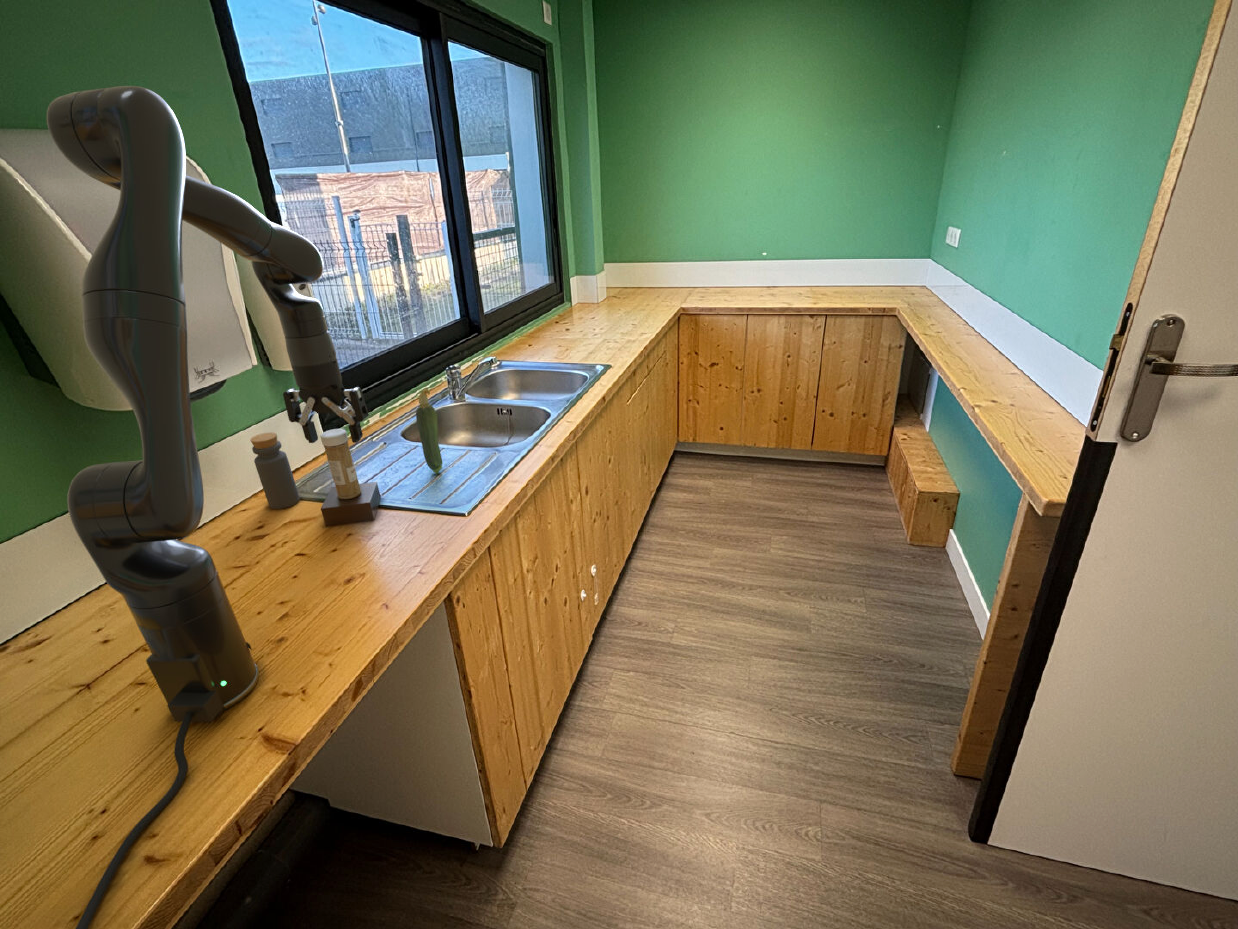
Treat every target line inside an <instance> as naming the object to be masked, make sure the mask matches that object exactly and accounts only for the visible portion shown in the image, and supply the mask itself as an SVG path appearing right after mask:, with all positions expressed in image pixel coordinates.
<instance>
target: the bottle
mask: <svg viewBox="0 0 1238 929" xmlns="http://www.w3.org/2000/svg"><path fill="white" fill-rule="evenodd" d="M250 442H251V444H252V445H253V446H252V448H251V450H252V452H253V454H255V455H257V456H256V457H255V458H254V460H253V462H254V466H255V470H256V471H257V474H258V478H259V480H260V483H261V487H262V489H263V492H264V496H265V498H266V501H267V504H268V506H269V508H270V509H274V510H279V509H280V510H281V509H286V508H290V507H293V506H294V505H296V504H298V503H299V501H300V499H301V498H300V494H299V491H298V486H297V484H296V481H295V477H294V474H293V471H292V467H291V465H290V462H289V458H288V455H287V453H286V452H285V451H283V450H280V449H281V448H282V442H281V441H280V440H278V434H277V433H276V432H262V433H259V434H256V435H254V436H252V437H251V438H250Z"/></svg>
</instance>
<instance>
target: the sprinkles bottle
mask: <svg viewBox="0 0 1238 929" xmlns="http://www.w3.org/2000/svg"><path fill="white" fill-rule="evenodd" d="M348 436H349V435H348V433H347V430H346V429H345V428H333V429H329V430H328V429H327V430H326V431H324V432H322V433H321V434H320V440H321V443H322V445H323V448H324V451H325V455H326V458H327V459H326V460H327V463H328V466H329V471H330V474H331V476H332V477H331V478H332V480H333V484H334V487H336V490H337V496H338V498H340V499H351V498H354V497H356V496H358V495H359V494H360V493H361V488H360V486H359V484H360V482H359V479H358V473H357V470H356V467H355V463H354V460H353V456H352V452H351V449H350V445H349V437H348Z"/></svg>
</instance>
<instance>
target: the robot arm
mask: <svg viewBox="0 0 1238 929" xmlns="http://www.w3.org/2000/svg"><path fill="white" fill-rule="evenodd" d="M46 124H47V129H48V132H49V134H50V137H51V139H52V140H53V142H54V144H55V146H56V147H57V148H58V150H59V151H60V152H61V154H62V155H63V157H64V158H65V159H67V161H68V162H69V163H71V164H72V165H73V166H74V167H75V168H77V169H78V170H79V171H81V172H82V173H84V174H85V175H87V176H89V177H91V178H92V179H94V180H96V181H98V182H100V183H102V184H104V185H106V186H108V187H111V188H113V189H116V190H118V191H120V192H119V194H120V195H119V199H118V204H117V208H116V210H115V212H114V215H113V218H112V220H111V221H110V223H109V226H108V227H107V229H106V231H105V233H103V235H102V237H101V239H100V241H99V242H98V245H97V246H96V248H95V249H94V251H93V253H92V255H91V257H90V259H89V260H88V263H87V266H86V268H85V270H84V273H83V277H82V283H81V307H82V327H83V336H84V341H85V344H86V346H87V348H88V350H89V352H90V354H91V356H92V358H94V361H95V362H96V363H97V364H98V365H99V367H100V368H101V370H102V371H103V372H104V374H105V375H106V376H107V377H108V378H109V380H110V381H111V382H112V383H113V384H114V386H115V387H116V388H117V389H118V390H119V392H120V393H121V394H122V395H123V397H124V398H125V400H126V401H127V402H128V405H130V407H131V409H132V411H133V414H134V415H135V418H136V421H137V424H138V428H139V433H140V440H141V449H142V460H141V459H140V460H130V461H127V460H126V461H116V462H103V463H96V464H93V465H89V466H87V467H85V468H83V469H82V470H80V471H79V472H78V473H77V474H76V475H75V476H74V477H73V478H72V480H71V482H70V485H69V487H68V491H67V510H68V514H69V518H70V521H71V524H72V526H73V528H74V531H75V532H76V534H77V537H78V538H79V540H80V542H81V543H82V545H83V546H84V548H85V549H86V551H87V553H88V555H89V556H90V557H91V559H92V561H93V563H94V564H95V566H96V567H97V569H98V571H99V573H100V575H101V576H102V577H103V580H104V581H105V582H106V583H107V585H108V586H109V587H110V588H111V589H112V590H114V591H115V592H117V593H119V594H120V595H121V596H122V598H123V600H124V602H125V604H126V606H127V608H128V609H129V611H130V613H131V616H132V617H133V620H134V621H135V624H136V625H137V628H138V629H139V631H140V633H141V636H142V638H143V639H144V641H145V644H146V646H147V648H148V650H149V651H150V655H149V656H148V657H146V660H145V662H146V664H147V666H148V668H149V670H150V672H151V674H152V676H153V678H154V680H155V682H156V684H157V686H158V688H159V690H160V692H161V694H162V695H163V698H164V699H165V701H166V703H167V705H166V706H167V708H168V710H169V712H170V714H171V716H172V718H173V720H174V722H176V723H177V722H178V723H179V722H181V724H180V727H179V730H178V731H177V736H176V739H175V742H174V752H173V753H174V759H175V761H176V764H177V768H178V770H177V774H176V776H175V779H174V782H173V784H172V785H171V787H170V788H169V790H167V792H166V793H165V794H164V796H163V797H162V798H161V799H160V800H159V801H158V802H157V803H156V804H155V805H154V806H153V807H152V808H151V809H150V810H149V811H148V812H147V813H146V814H145V815H144V816H143V817H142V818H141V819H140V820H139V821H138V822H137V824H135V826H133V828H132V829H131V831H130V832H129V833H128V834H127V836H126V837H125V839H124V840H123V842H122V843H121V845H120V846H119V847H118V849H117V851H116V852H115V854H114V856H113V857H112V859H111V861H110V863H109V865H108V866H107V867H106V870H105V871H104V873H103V874H102V876H101V878H100V880H99V881H98V884H97V886H96V888H95V890H94V891H93V893H92V896H90V899H89V901H88V903H87V905H86V907H85V909H84V911H83V913H82V915H81V917H80V919H79V921H78V923H77V926H76V927H75V929H88V928H89V927H90V924H91V922H92V920H93V918H94V916H95V914H96V912H97V909H98V908H99V906H100V904H101V901H102V900H103V898H104V896H105V893H106V892H107V889H108V888H109V885H110V884H111V882H112V880H113V878H114V876H115V874H116V873H117V871H118V868H119V867H120V865H121V863H122V862H123V860H124V858H125V857H126V855H127V853H128V852H129V851H130V848H131V847H132V846H133V844H134V842H135V841H136V840H137V838H138V837H139V836H140V834H141V833H142V832H143V831H144V830H145V829H146V827H147V826H148V825H150V823H152V821H153V820H154V819H155V818H156V817H157V816H159V814H160V813H161V812H162V811H163V810H164V809H165V808H166V807H167V806H168V805H169V804H170V802H171V801H172V800H173V799H174V797H175V796H176V795H177V794H178V792H179V791H180V789H181V787H182V785H183V783H184V782H185V780H186V778H187V773H188V771H189V764H188V763H189V762H188V760H187V757H186V755H185V741H186V738H187V734H188V731H189V728H190V725H191V723H212V722H213V721H214V719H215V718H219V717H220V716H221V715H222V714H223V713H224V711H226V710H227V709H229V708H231V707H232V706H234V705H236V704H238V703H239V702H241V701H242V700H243V699H244V698H246V697H247V696H248V695H249V694H250V693H251V692H252V690H253V689H254V688H255V687H256V685H257V683H258V682H259V679H260V670H259V668H258V666H257V664H256V662H255V661H254V657H253V656H252V654H251V651H253V649H252V647H251V644H250V643H249V642H248V641H246V638H245V636H244V634H243V632H242V628H241V626H240V624H239V621H238V619H237V616H236V614H235V612H234V609H233V607H232V604H231V603H230V599H229V597H228V595H227V592H226V590H225V587H224V584H223V582H222V579H221V576H220V574H219V573H218V572H219V571H218V570H217V567H216V564H215V562H214V560H213V558H212V556H211V554H210V552H208V551H207V550H206V549H205V548H204V547H202V546H199V545H196V544H193V543H190V542H186V541H185V542H184V541H181V539H185V538H188V537H190V536H191V535H192V534H193V533H194V532H195V531H196V530H197V528H198V527H199V526H200V523H201V520H202V518H203V513H204V505H205V504H204V502H205V495H204V494H205V493H204V483H203V476H202V470H201V463H200V458H199V451H198V444H197V439H196V438H197V437H196V431H195V426H194V419H193V418H194V417H193V411H192V403H191V390H190V379H189V378H190V376H189V358H188V357H189V356H188V355H189V354H188V353H189V352H188V321H187V320H188V319H187V318H188V317H187V305H186V296H185V286H184V263H183V262H184V261H183V260H184V259H183V222H185V223H187V224H188V225H190V226H193V227H195V228H196V229H198V230H199V231H202V232H203V233H205V234H207V235H208V236H209V237H212V238H213V239H215V240H216V241H218V242H219V243H220V244H222V245H223V246H225V247H226V248H228V249H229V250H230V251H232V252H234V253H235V254H237V255H238V256H240V257H242V258H244V259H246V260H248V261H250V262H251V267H252V270H253V272H254V275H255V277H256V279H257V280H258V282H259V284H260V286H261V287H262V288H263V290H264V292H265V293H266V295H267V297H268V299H269V300H270V302H271V304H272V305H273V307H274V309H275V311H276V313H277V314H278V315H277V316H278V318H279V321H280V325H281V329H282V332H283V336H284V340H285V341H284V342H285V347H286V353H287V355H288V360H289V363H290V366H291V370H292V373H293V376H294V380H295V384H296V386H297V388H298V389H296V388H295V387H290V388H289V389H287V390H285V391H284V392H283V393H282V396H283V401H284V406H285V409H286V413H287V417H288V421H289V422H290V423H297V424H299V425H300V426H301V429H302V432H303V435H304V438H305V439H306V441H308V443H309V444H314V443H316V442H317V441H318V440H319V435H318V431H317V428H316V425H315V421H313V418H314V416H315V414H323V413H326V414H334V413H335V414H336V416H338V417H339V418H342V419H344V421H346V422H347V424H348V431H349V435H350V439H351V442H352V443H354V444H355V443H359V442H360V441H361V439H362V438H363V435H364V434H363V430H362V426H361V423H362V422H363V421H364V420H365V419H366V418H368V417H369V415H370V412H369V411H368V407H367V404H366V400H365V396H364V394H363V391H362V390H363V389H362V388H361V387H359V386H356V387H354V388H349V389H348V388H347V389H346V388H345V387H344V385H343V378H342V374H341V370H340V366H339V362H338V357H337V351H336V350H335V345H334V343H333V340H332V337H331V334H330V332H329V329H328V328H329V327H328V325H327V320H326V316H325V312H324V308H323V305H322V303H321V302H320V300H318V298H314V297H311V296H307V295H303V294H300V293H299V292H298V291H297V290H296V289H295V287H294V286H293V285H307V284H312V283H315V282H317V281H318V280H319V279H320V278H321V277H322V275H323V272H324V260H323V257H322V254H321V252H320V251H319V249H318V248H317V247H316V246H315V244H314V243H312V242H311V241H310V240H309V239H308V238H306V237H304V236H303V235H301V234H299V233H298V232H295V231H293V230H290V229H288V228H286V227H284V226H282V225H280V224H278V223H275V222H273V221H270V219H268V218H267V217H266V216H265V215H263V214H262V213H261V212H259V211H258V210H257V209H256V207H253V206H252V205H251V204H250V203H249V202H247V201H246V200H244V199H243V198H242V197H240V196H238V195H237V194H234V193H233V192H230V191H228V190H226V189H223V188H222V187H219V186H217V185H214V184H211V183H209V182H206V181H204V180H201V179H198V178H195V177H193V176H190V175H188V174H186V173H187V157H186V156H187V155H186V145H185V139H184V135H183V130H182V129H181V125H180V124H179V121H178V118H177V117H176V114H175V113H174V111H173V109H171V106H170V105H169V104H168V103H167V102H166V100H165V99H163V97H161V95H159V94H158V93H156V92H155V91H153V90H151V89H149V88H146V87H144V86H137V85H120V86H112V87H103V88H96V89H88V90H81V91H75V92H69V93H67V94H64V95H60V96H58V97H56V98H55V99H53V100H52V101H51V102H50V103H49V105H48V107H47V111H46ZM346 397H347V399H348V401H349V402H351V404H350V403H349V402H348V401H347V400H346ZM300 400H301V401H303V403H304V404H305V405H304V408H303V409H301V405H300ZM341 407H342V408H341Z"/></svg>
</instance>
